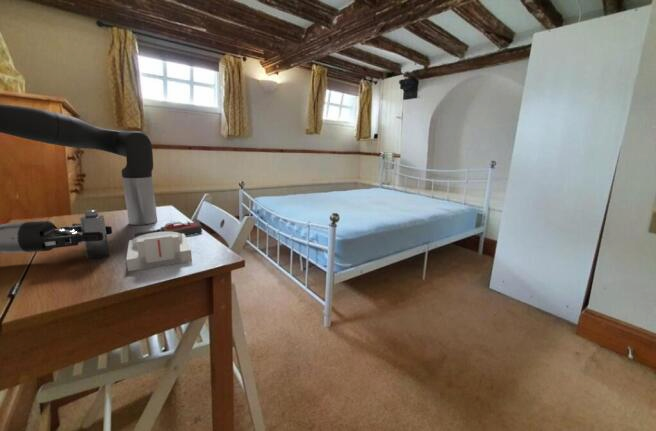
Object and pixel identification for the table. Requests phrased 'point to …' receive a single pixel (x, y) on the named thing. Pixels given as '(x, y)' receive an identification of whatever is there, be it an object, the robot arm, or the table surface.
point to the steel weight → (95, 224)
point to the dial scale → (157, 250)
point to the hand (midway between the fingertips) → (106, 232)
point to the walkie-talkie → (177, 228)
